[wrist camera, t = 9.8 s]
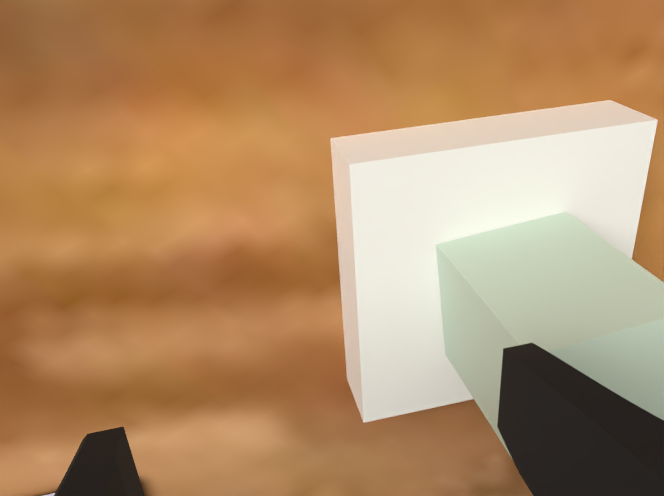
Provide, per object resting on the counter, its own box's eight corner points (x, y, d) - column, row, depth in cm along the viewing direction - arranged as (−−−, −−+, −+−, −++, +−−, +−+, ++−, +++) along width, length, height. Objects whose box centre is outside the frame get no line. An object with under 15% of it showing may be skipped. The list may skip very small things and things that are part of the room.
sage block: (562, 322, 23) (678, 440, 18) (445, 354, 22) (529, 486, 17) (565, 211, 21) (699, 308, 15) (436, 244, 20) (529, 356, 15)
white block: (569, 326, 27) (611, 369, 25) (344, 371, 26) (363, 422, 23) (601, 96, 22) (657, 119, 20) (326, 133, 21) (349, 164, 18)
